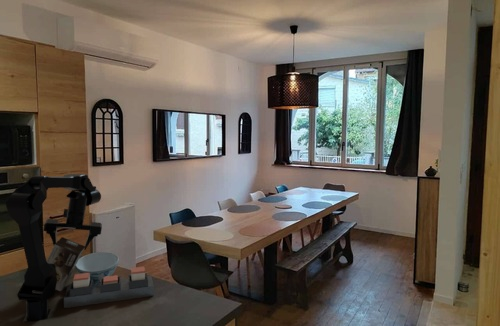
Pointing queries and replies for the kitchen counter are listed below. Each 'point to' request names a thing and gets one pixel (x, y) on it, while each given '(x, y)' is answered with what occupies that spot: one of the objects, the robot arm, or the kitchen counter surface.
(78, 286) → the button
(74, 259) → the coffee box
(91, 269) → the chinaware
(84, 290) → the gray slotted rack
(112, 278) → the button
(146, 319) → the kitchen counter surface
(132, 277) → the button
